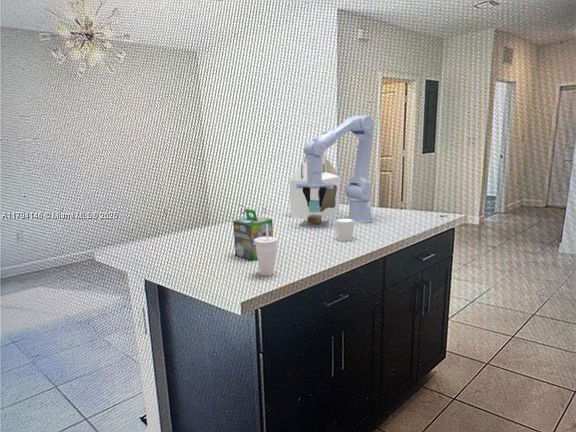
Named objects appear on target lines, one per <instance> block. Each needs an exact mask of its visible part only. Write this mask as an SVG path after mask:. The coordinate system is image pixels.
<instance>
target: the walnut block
mask: <svg viewBox="0 0 576 432" xmlns="http://www.w3.org/2000/svg"><path fill="white" fill-rule="evenodd" d="M306 220H307V222H308V225H320V224H321V221H322V218H321V215H309V216H308V217H307V219H306Z"/></svg>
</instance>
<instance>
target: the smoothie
mask: <svg viewBox="0 0 576 432" xmlns="http://www.w3.org/2000/svg"><path fill="white" fill-rule="evenodd" d="M254 244H255V245H256V252H257V258H258V259H257V263H258V264H257V265H258V269H259V274H260V275H261V276H265V277H266V276H272V275H274V274H275V273H274V271H275V262H276V251H277V244H278V238H277V237H275V236H273V237H268V224H266V237H258V238H256V239H254Z"/></svg>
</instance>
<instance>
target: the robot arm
mask: <svg viewBox="0 0 576 432" xmlns="http://www.w3.org/2000/svg"><path fill="white" fill-rule="evenodd" d="M374 126H375V122H374V119H372V117H371V116H370V115H368V114H364V115H350V116H349V117H348V118H346V119H345V120H344V121H343V122H342V123H341V124H339V125H338V126H336V128H334V129H333V130H332V131H331V130H324V131H322V134H321V135H319V136H318V137H317V136H316V137H315V138H314V139H313V140H312V141H307V142H306V143H305V145H304V148H303V152H304V155H305V156H306V159H307V183H297V184H296V189H299V188H303V190H302V191H303V193H304V195H305V198H306V200H307V204H308V207H309V201H310V190H311V188H320V189H319V197H320V201H319V206H320V207H322V202H323V198H324V195H325V193H326V191H327V189H333V183H322V155H323V154H325V151H326V150H327V149H329V148H330V147H332V146H333V145H334V144H335V143H336V142H337V139H338V138H339V137H341V136H343V135H344V134H346V133H348V132H349V131H350V132H351V134H353V135H354V136H356V138H357V139H358V146H357V153H356V159H355V165H354V170H353V171H354V172H353V175H352V177H351V178H350V179H349V180H348V184H347V186H346V187H345V196H346V197H347V199H348V202H349V203H348V208H349V209H348V218H347V219H353V220H354V223H358V222H359V223H371V220H372V200H369V198H370V196H371V183H370V181H369V180H368V179H367V175H368V171H369V170H368V169H369V164H370V158H371V152H372V145H373V140H374V131H373V130H374ZM310 186H311V187H310ZM316 186H319V187H316Z"/></svg>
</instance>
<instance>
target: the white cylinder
mask: <svg viewBox="0 0 576 432" xmlns="http://www.w3.org/2000/svg"><path fill="white" fill-rule="evenodd" d="M334 221H335V230H336V231H335V232H336V240H337V241H340V242H350V240H351V241H353V239H354V230H355V222H354V220H353V219H348V218H337V219H335V220H334Z"/></svg>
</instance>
